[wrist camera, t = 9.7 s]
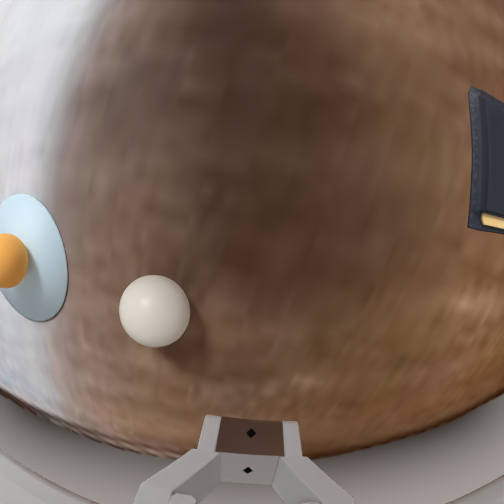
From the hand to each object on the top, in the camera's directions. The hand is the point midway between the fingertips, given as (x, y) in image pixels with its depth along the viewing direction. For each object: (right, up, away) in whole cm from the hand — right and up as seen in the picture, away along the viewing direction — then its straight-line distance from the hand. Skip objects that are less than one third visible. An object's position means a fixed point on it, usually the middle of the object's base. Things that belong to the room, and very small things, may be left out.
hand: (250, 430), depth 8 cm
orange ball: (-25, +5, +12) cm, 28 cm away
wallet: (+30, +15, +12) cm, 36 cm away
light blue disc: (-24, +5, +15) cm, 29 cm away
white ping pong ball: (-7, +2, +12) cm, 14 cm away
